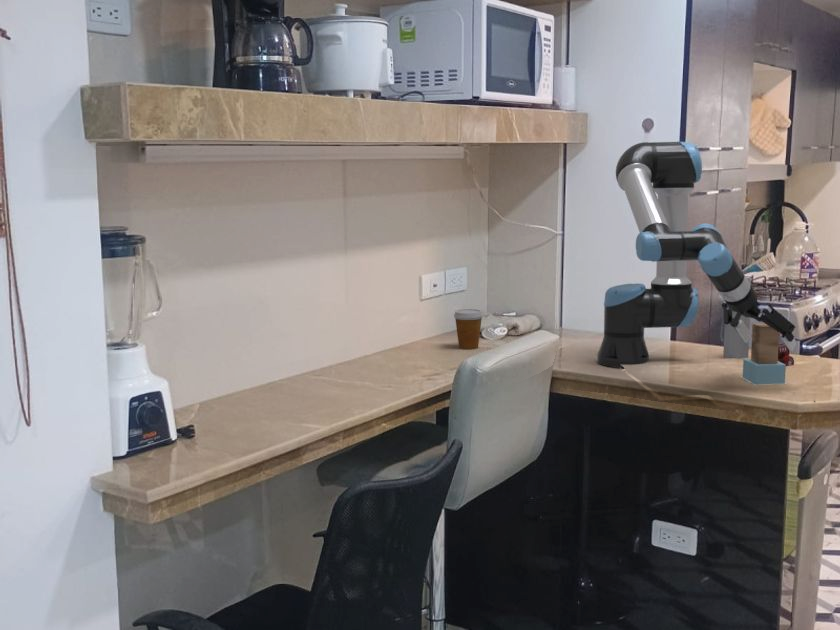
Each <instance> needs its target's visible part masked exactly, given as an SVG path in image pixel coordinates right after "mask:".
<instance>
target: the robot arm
mask: <svg viewBox="0 0 840 630" xmlns="http://www.w3.org/2000/svg"><path fill="white" fill-rule="evenodd" d="M702 173H703V165H702V157H701V154H700V151H699V149H698V147H697V146H696V145H695V144H694V143H692V142H690V141H689V142H688V141H678V140H677V141H659V142H657V141H656V142H655V141H654V142H648V141H646V142H639V143H635V144H633V145H632V146H630V147H629V148H627V149H626V150H625V151H624V152H623V153H622V154H621V156H620V157H619V159H618V161H617V163H616V168H615V179H616V181H617V184H618V187H619V188H620V189H621V190H622V191H624V194H625V195H626V196H625V197H626V199H627V201H628V204H629V207H630V209H631V212H632V215H633V217H634V220H635V224H636V226H637V230H638V232H639V233H638V234H637V236H636V237H635V250H636V252H635V253H636V256H637V258H638V259H639V260H640V261H642V262H656V269H655V270H656V276H655V277H654V278H653V279H652V280H651V282H650V288H647V287H646V285H645V284H644V283H624V284H618V285H615V286H611V287H609V288H608V289H606V291H605V295H604V301H603V302H604V303H603V306H604V311H603V313H604V315H603V317H604V320H603V338H602V340H601V344H600V346H599V350H598V352H597V363H598V364H599V365H601V366H605V367H611V368H620V369H624V368H625V367H624V365H625V366H626V365H627V366H628V365H642V364H646V363H648V362H650V354H649V351H648V347H647V344H646V341H645V329H648V328H649V329H656V328H657V329H659V328H673V329H678V328H683V327H689V326H691V325H692V323H693V322H694V321H695V320H696V316H697V314H698V311H699V303H700V302H699V297H698V296H699V292H698V290H697V289H696V288H695V287H693V286H692V283H693V282H692V281H691V280H690V279H689V278H688V276H687V270H688V269H687V265H688V264H687V262H688V261H698V264H699V265H700V267H701V270H702V271H703V273H705V275H706V276H707V277H708V279H709V280H710V282H711V283H712V285H713V286H714V287H715V289H716V290H717V292H718V294H720V296H721V298H722V299H723V302H722V303H721V307H722V310H723V311H724V325H725V324H727V325H728V324H731V326H732V327H734V328H735V330H736V331H737V332H738V333H739V334H740V336H741V337H742V339H743V340H744V341H745V343H748V341H749V342H750V340H751V339H752V332H751V331H750V330H748V328H747V327H746V325H745V324H744V322H743V321H742V320H740V321H739V319H740V317H741V315H743V316H745V317H750V319H754V320H755V321H757V322H759V323H760V322H761V323H765V324H767V325H768V326H770V327H771V328H773V329H774V330H776V331H778V332H779V334H780V333H781V334H780V337H781V338H782V340H783V341H784V343H785V344H786V346H787V347H788V349H789V350H790V351H789V352H793V351H794V349H795V347H796V346H797V344H798V343H797V340H796V339H795V335H794V334H793V332H794V330H795V329H796V326H795V325H794V324H793V323H792V322H791V321H790V320H788V319H787V318H786V317H785V316H783V315H782V314H781V313H779V312H778V310H776V309H775V308H774V307H773V305H772V304H771V303H769V302H767V303H766V304H765V305H762V304H761V303H760V302H759V301H758V295H757V292H756V290H755V289H754V288H753V286H752V284H751V285H750V283H749V281H748V280H747V278H746V277H745V274H744V272H743V271H742V270H741V268H740V266H739V265H738V263H737V262H736V260H735V258H734V256H733V255H732V253H731V250H730V249H729V248H728V247H727V245H726V243H725V241H724V238H723V235H722V234H721V233H720V232H719V230H718V229H717V228H716V227H715V225H713V224H710V223H701V224H699V225H696V226H694V227H693V228H692V229H691V230H689V231H688V224H689V223H688V222H689V221H688V220H689V219H688V218H689V195H690V193H692V191H693V190H694V188H695V184H696V183H698V182H699V181H701V178H702ZM732 311H734V312H737V314H736V316H735V318H732ZM761 312H762V313H761ZM760 314H761V315H760ZM622 365H623V366H622Z"/></svg>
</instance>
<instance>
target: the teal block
mask: <svg viewBox="0 0 840 630" xmlns="http://www.w3.org/2000/svg"><path fill="white" fill-rule="evenodd" d="M786 367H787V366H786V365H785V364H783V363H781V362H779V361H778V364H757V363H755V362H753V361H751V358H742V377H743V378H745V379H747V380H749V381H750V382H752V383H754V384H769V385H781V384H780V383H786V369H787V368H786ZM743 378H742V379H743ZM750 382H749V383H750ZM752 383H751V384H752Z"/></svg>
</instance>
